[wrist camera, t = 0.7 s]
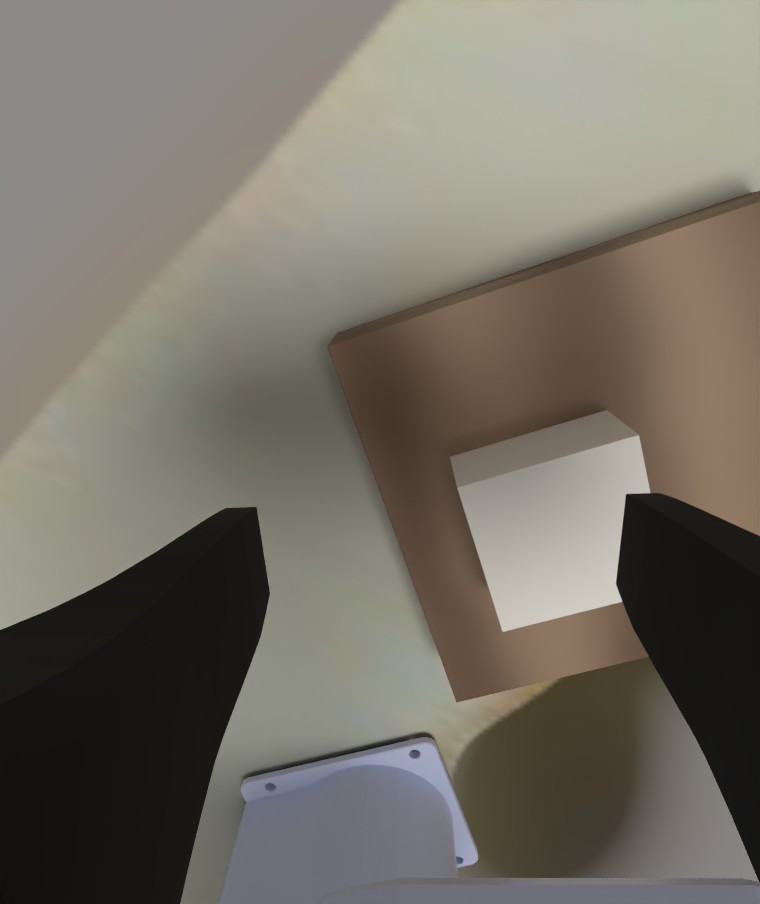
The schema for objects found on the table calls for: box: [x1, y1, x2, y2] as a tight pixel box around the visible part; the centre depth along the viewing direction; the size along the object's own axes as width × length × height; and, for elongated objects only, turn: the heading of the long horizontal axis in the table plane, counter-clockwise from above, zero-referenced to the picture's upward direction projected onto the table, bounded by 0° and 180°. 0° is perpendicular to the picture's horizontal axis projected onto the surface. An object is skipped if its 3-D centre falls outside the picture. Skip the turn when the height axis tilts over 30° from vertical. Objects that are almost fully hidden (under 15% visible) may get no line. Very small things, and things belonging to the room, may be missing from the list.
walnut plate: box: [328, 191, 760, 702], centre depth 20 cm, size 14×14×3 cm
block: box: [450, 410, 650, 632], centre depth 17 cm, size 5×5×2 cm
